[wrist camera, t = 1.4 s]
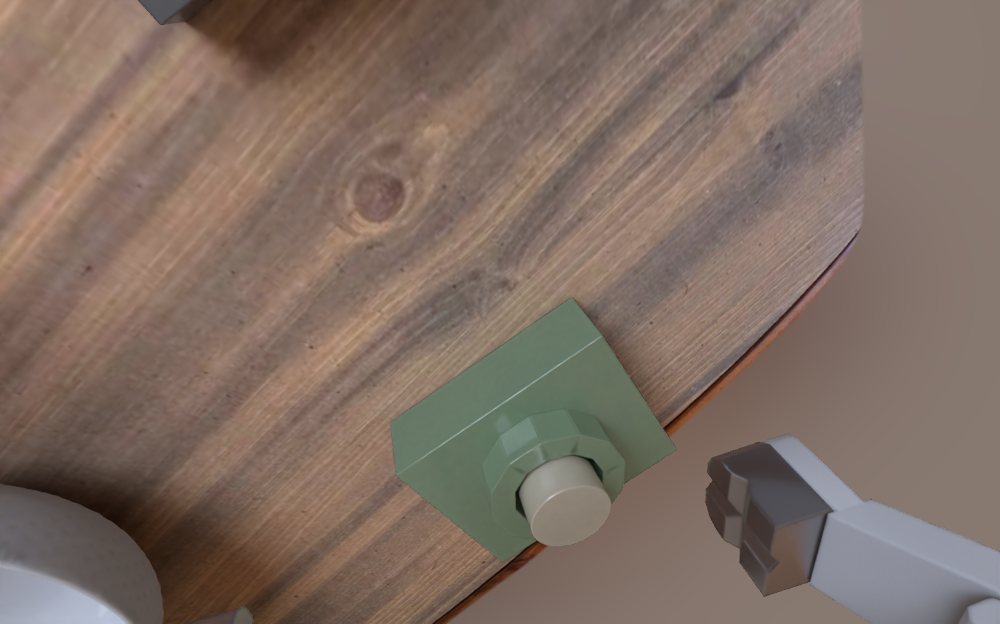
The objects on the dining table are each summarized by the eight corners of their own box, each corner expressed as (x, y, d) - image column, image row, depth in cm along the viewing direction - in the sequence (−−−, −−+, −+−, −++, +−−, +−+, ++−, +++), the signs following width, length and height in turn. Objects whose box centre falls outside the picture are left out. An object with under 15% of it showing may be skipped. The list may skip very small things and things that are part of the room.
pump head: (572, 440, 26) (589, 472, 24) (607, 483, 28) (625, 514, 26) (503, 486, 26) (515, 520, 25) (543, 525, 28) (556, 558, 27)
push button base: (571, 296, 29) (621, 359, 24) (643, 405, 34) (697, 476, 29) (389, 422, 30) (399, 508, 25) (486, 509, 35) (511, 595, 30)
